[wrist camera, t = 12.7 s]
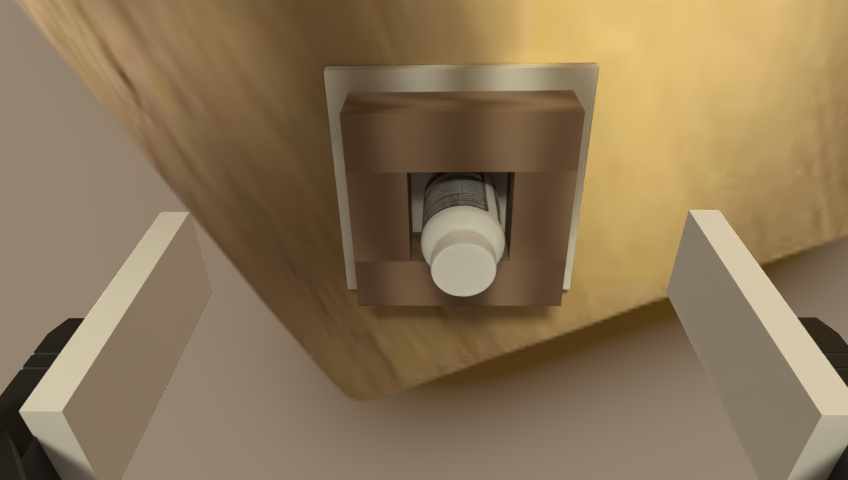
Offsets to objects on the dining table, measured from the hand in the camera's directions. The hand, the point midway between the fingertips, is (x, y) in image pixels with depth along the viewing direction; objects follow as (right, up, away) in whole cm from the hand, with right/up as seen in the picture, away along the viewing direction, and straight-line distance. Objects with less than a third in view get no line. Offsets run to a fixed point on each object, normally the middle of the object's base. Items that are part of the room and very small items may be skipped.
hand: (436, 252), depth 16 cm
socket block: (+2, +4, +29) cm, 29 cm away
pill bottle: (+2, +4, +28) cm, 29 cm away
